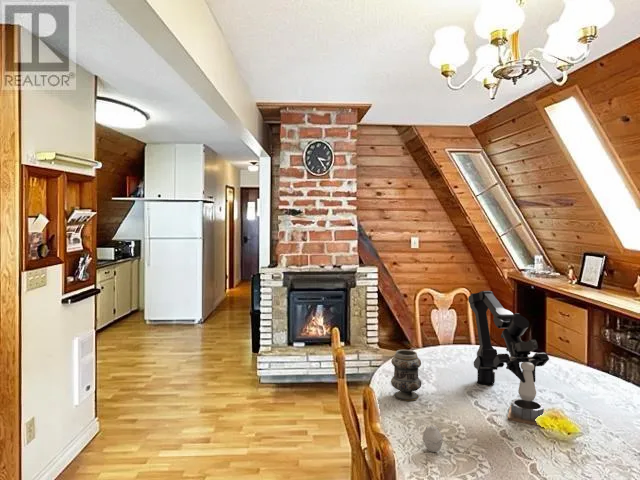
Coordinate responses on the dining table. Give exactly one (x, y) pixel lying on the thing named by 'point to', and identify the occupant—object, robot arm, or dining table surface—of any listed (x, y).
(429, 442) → the grey cracked egg
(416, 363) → the apothecary jar
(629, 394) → the dining table surface
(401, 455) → the dining table surface
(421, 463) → the dining table surface
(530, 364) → the salt shaker
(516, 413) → the cup holder
